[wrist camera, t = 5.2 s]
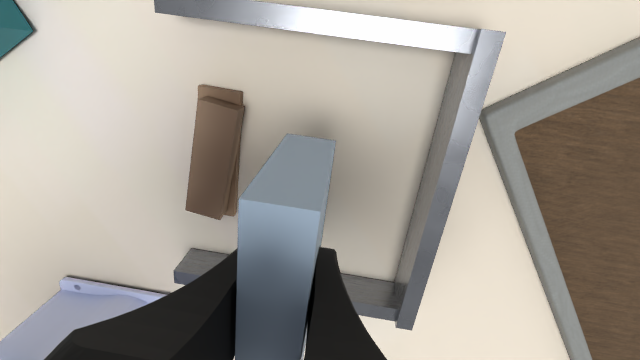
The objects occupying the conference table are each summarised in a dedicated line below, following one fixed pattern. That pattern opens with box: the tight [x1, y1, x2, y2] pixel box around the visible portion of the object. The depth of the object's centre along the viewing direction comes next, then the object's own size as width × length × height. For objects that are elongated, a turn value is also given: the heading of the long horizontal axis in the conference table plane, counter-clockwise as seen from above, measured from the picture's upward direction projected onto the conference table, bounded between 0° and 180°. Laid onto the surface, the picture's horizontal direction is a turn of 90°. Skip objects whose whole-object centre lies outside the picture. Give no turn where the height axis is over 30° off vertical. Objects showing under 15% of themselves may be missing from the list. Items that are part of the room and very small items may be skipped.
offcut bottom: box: [198, 85, 243, 216], centre depth 21 cm, size 2×8×1 cm, turn 171°
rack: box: [154, 0, 506, 330], centre depth 19 cm, size 16×17×3 cm
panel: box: [235, 134, 336, 360], centre depth 13 cm, size 2×9×6 cm, turn 173°
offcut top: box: [185, 96, 245, 220], centre depth 20 cm, size 2×7×1 cm, turn 165°
